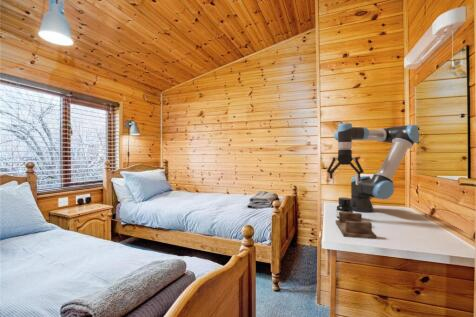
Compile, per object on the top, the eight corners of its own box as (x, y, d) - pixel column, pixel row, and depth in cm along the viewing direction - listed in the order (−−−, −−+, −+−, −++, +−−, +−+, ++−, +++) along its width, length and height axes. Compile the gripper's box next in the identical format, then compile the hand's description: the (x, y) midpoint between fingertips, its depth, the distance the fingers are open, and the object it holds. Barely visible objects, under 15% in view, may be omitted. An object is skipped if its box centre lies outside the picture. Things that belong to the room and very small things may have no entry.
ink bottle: (333, 217, 142) (333, 198, 142) (339, 215, 148) (339, 196, 148) (349, 221, 135) (350, 200, 135) (355, 218, 141) (355, 198, 141)
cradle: (362, 224, 130) (362, 212, 129) (376, 238, 108) (376, 224, 108) (335, 222, 133) (335, 211, 133) (343, 236, 111) (343, 222, 111)
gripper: (323, 149, 140) (323, 184, 140) (369, 148, 134) (369, 185, 135) (322, 149, 147) (322, 183, 148) (365, 149, 141) (365, 184, 142)
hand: (344, 184), depth 141 cm, fingers open, 13 cm apart
